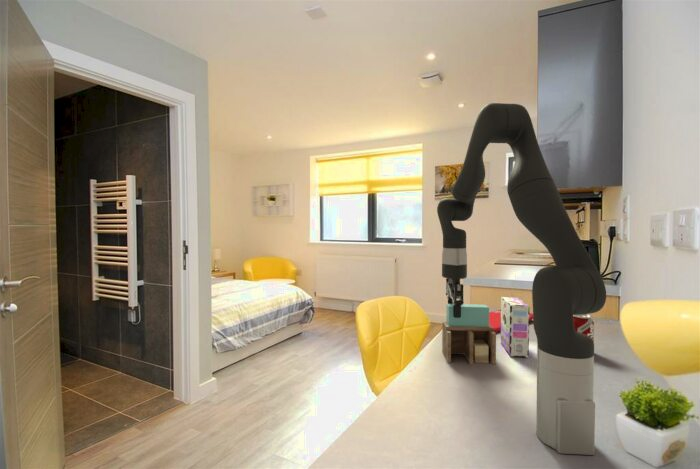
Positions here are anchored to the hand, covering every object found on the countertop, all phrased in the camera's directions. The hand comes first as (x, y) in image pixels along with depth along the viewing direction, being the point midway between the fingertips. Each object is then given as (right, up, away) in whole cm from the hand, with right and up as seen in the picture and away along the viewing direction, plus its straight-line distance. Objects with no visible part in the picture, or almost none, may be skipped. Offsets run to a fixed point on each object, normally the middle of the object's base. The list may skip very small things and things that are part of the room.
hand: (454, 314), depth 111 cm
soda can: (+42, -13, +4) cm, 44 cm away
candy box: (+21, -13, +6) cm, 26 cm away
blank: (+4, -3, 0) cm, 5 cm away
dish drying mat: (+26, -13, +36) cm, 46 cm away
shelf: (+4, -13, -1) cm, 14 cm away
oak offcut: (+7, -13, -2) cm, 15 cm away
